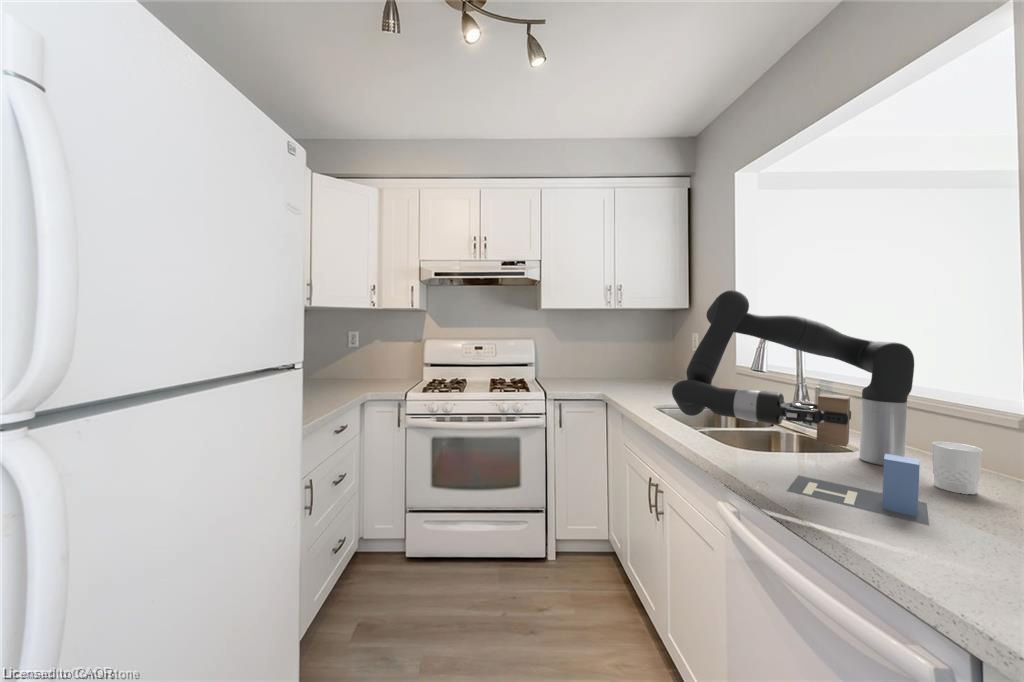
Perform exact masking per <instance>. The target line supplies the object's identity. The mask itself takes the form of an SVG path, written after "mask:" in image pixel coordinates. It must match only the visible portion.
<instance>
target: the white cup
mask: <svg viewBox="0 0 1024 682" xmlns="http://www.w3.org/2000/svg"><path fill="white" fill-rule="evenodd" d="M931 452H932V453H931V455H932V457H931V458H932V459H931V460H932V461H931V462H932V474H933V485H934V487H936V488H938V489H940V490H944V491H948V492H950V491H951V492H950V493H956V494H960V493H961V494H962V495H968V494H972V495H971V496H973V495H977V494H978V490H979V488H978V487H979V481H980V477H981V476H980V475H981V471H982V461H983V453H984V449H982V448H980V447H978V446H973V445H969V444H965V443H960V442H959V443H958V442H953V441H952V442H951V441H942V440H941V441H938V440H937V441H932V442H931Z"/></svg>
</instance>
